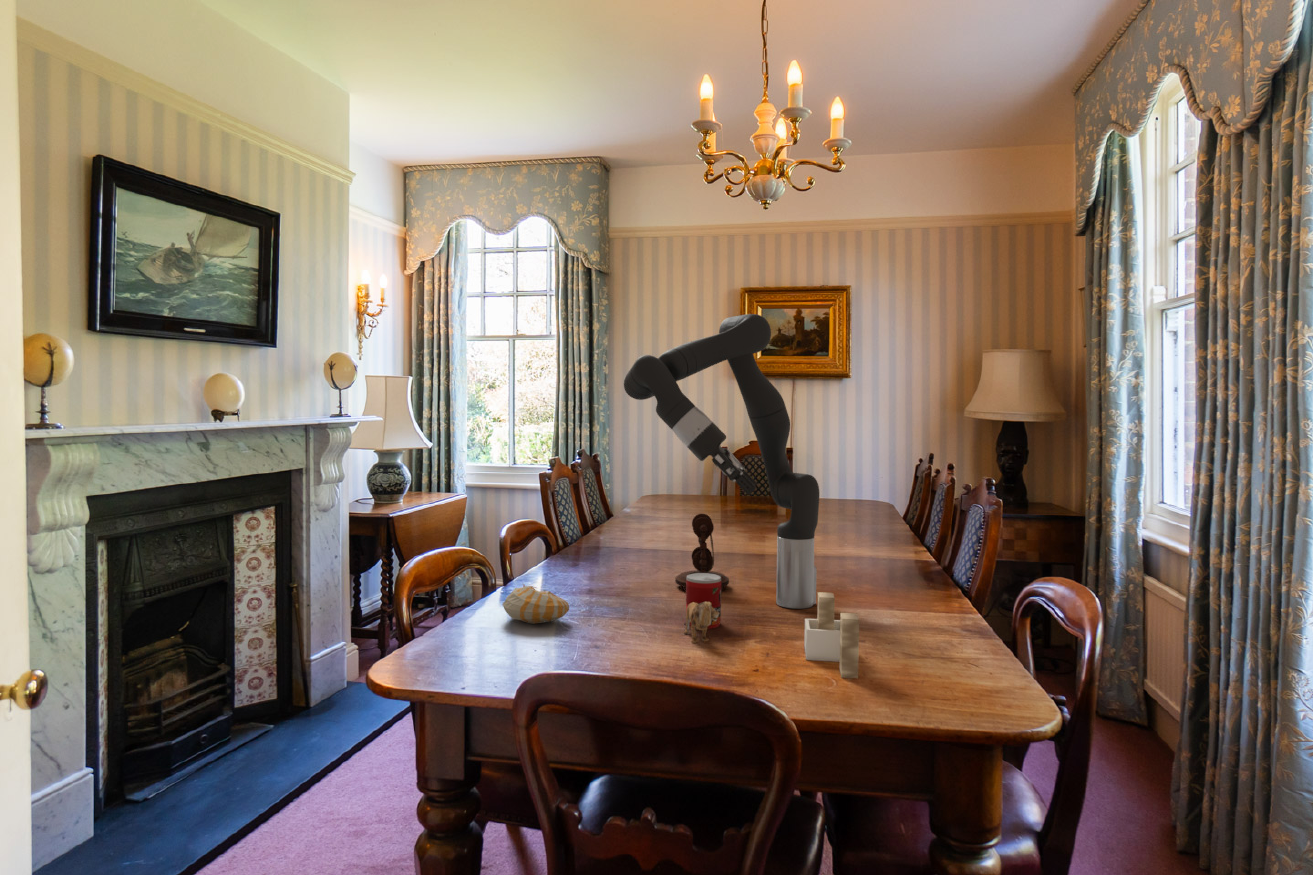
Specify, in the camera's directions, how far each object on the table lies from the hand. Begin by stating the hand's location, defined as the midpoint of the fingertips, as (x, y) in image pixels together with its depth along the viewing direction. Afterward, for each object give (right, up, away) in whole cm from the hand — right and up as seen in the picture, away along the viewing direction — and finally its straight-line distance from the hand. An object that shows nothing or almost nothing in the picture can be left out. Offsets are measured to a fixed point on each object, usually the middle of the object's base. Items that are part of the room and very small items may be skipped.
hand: (753, 489), depth 153 cm
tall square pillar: (+14, -32, -4) cm, 35 cm away
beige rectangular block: (+16, -33, -15) cm, 40 cm away
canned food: (-9, -32, +16) cm, 37 cm away
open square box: (+14, -33, -4) cm, 36 cm away
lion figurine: (-11, -33, +6) cm, 35 cm away
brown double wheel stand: (-8, -31, +50) cm, 60 cm away
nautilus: (-49, -32, +19) cm, 61 cm away
